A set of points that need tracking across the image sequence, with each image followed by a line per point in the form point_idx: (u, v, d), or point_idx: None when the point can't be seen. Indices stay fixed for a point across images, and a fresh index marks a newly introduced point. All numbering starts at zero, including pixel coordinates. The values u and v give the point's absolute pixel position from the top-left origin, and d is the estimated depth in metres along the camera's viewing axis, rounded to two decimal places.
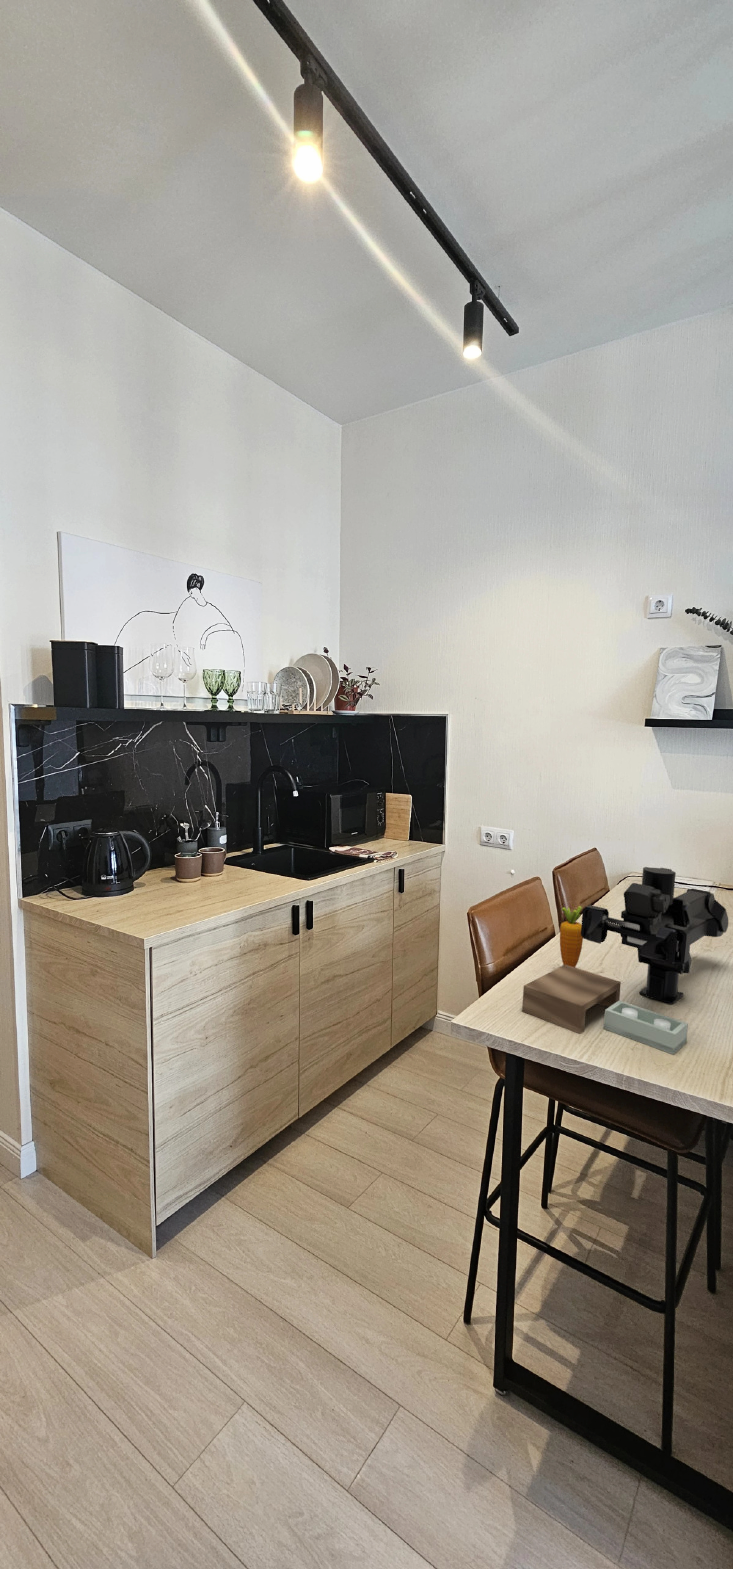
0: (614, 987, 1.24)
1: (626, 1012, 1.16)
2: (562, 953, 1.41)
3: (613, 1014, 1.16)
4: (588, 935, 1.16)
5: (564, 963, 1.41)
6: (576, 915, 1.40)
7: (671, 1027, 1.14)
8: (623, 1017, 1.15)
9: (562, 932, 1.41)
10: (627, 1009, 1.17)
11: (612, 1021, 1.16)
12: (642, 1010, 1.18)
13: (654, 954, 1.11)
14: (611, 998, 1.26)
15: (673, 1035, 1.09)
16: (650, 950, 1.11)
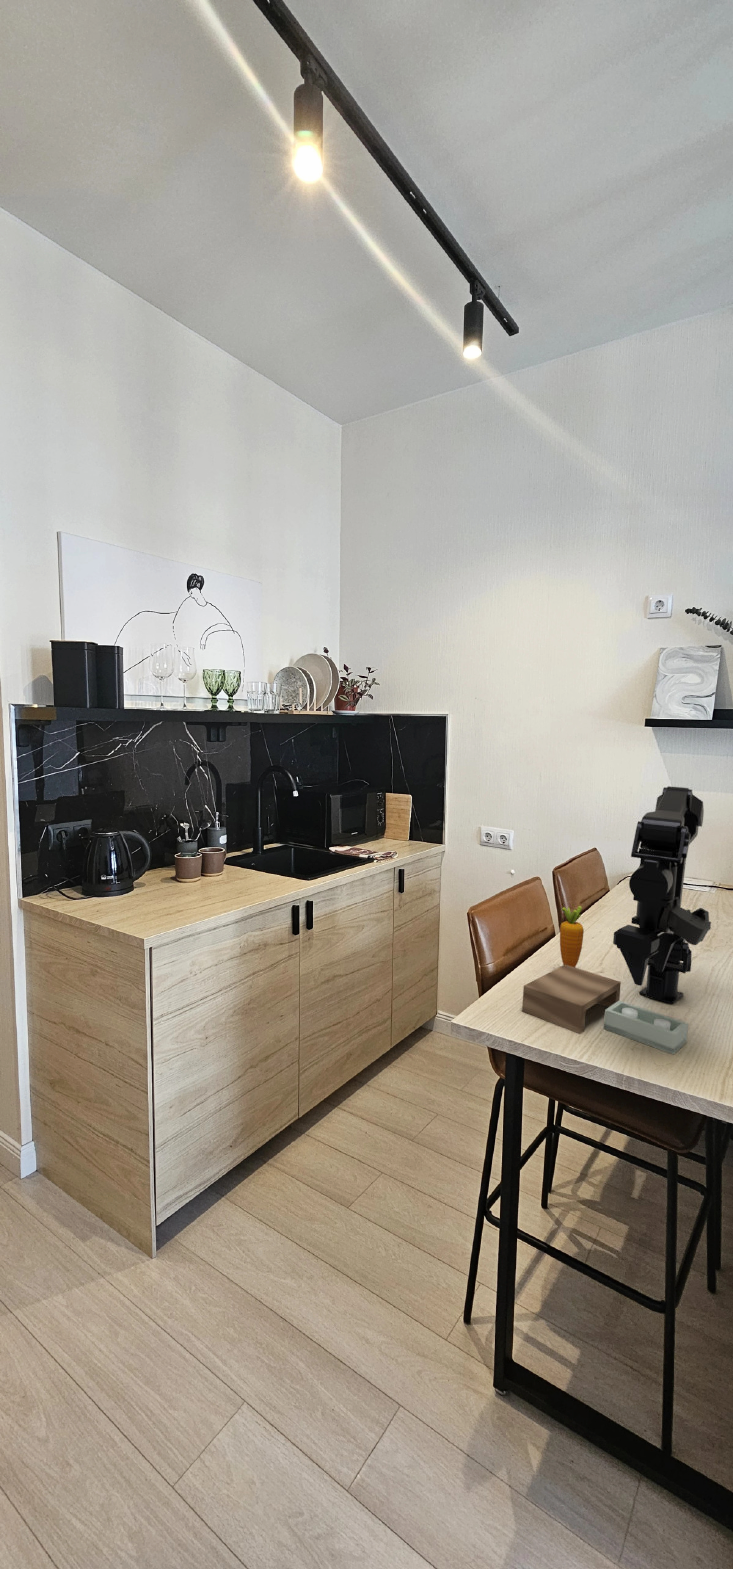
0: (614, 987, 1.24)
1: (626, 1012, 1.16)
2: (562, 953, 1.41)
3: (613, 1014, 1.16)
4: None
5: (564, 963, 1.41)
6: (576, 915, 1.40)
7: (671, 1027, 1.14)
8: (623, 1017, 1.15)
9: (562, 932, 1.41)
10: (627, 1009, 1.17)
11: (612, 1021, 1.16)
12: (642, 1010, 1.18)
13: None
14: (611, 998, 1.26)
15: (673, 1035, 1.09)
16: None
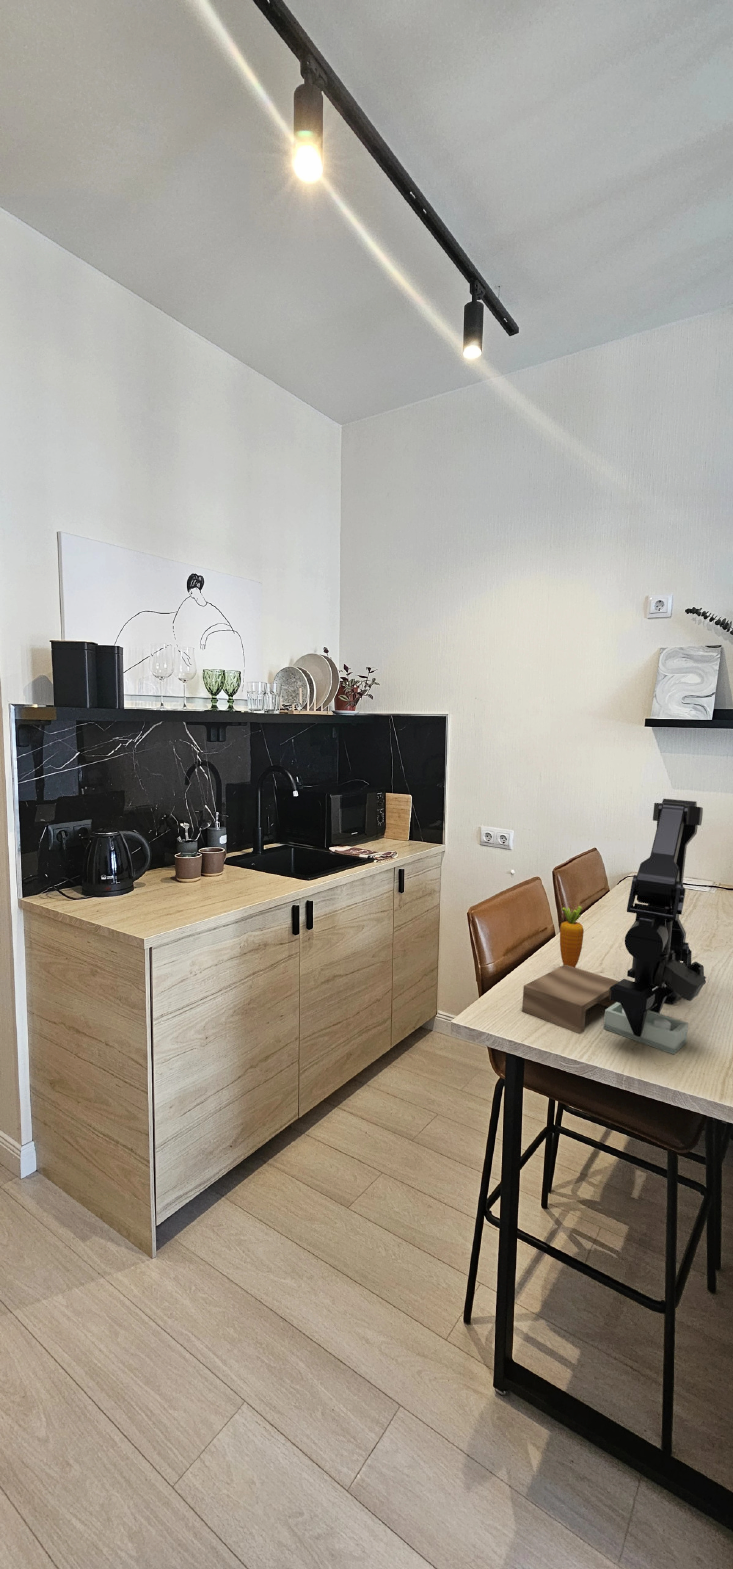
0: None
1: None
2: (562, 953, 1.41)
3: (613, 1014, 1.16)
4: None
5: (564, 963, 1.41)
6: (576, 915, 1.40)
7: (671, 1027, 1.14)
8: (623, 1017, 1.15)
9: (562, 932, 1.40)
10: None
11: (612, 1021, 1.16)
12: None
13: None
14: None
15: (673, 1035, 1.09)
16: None
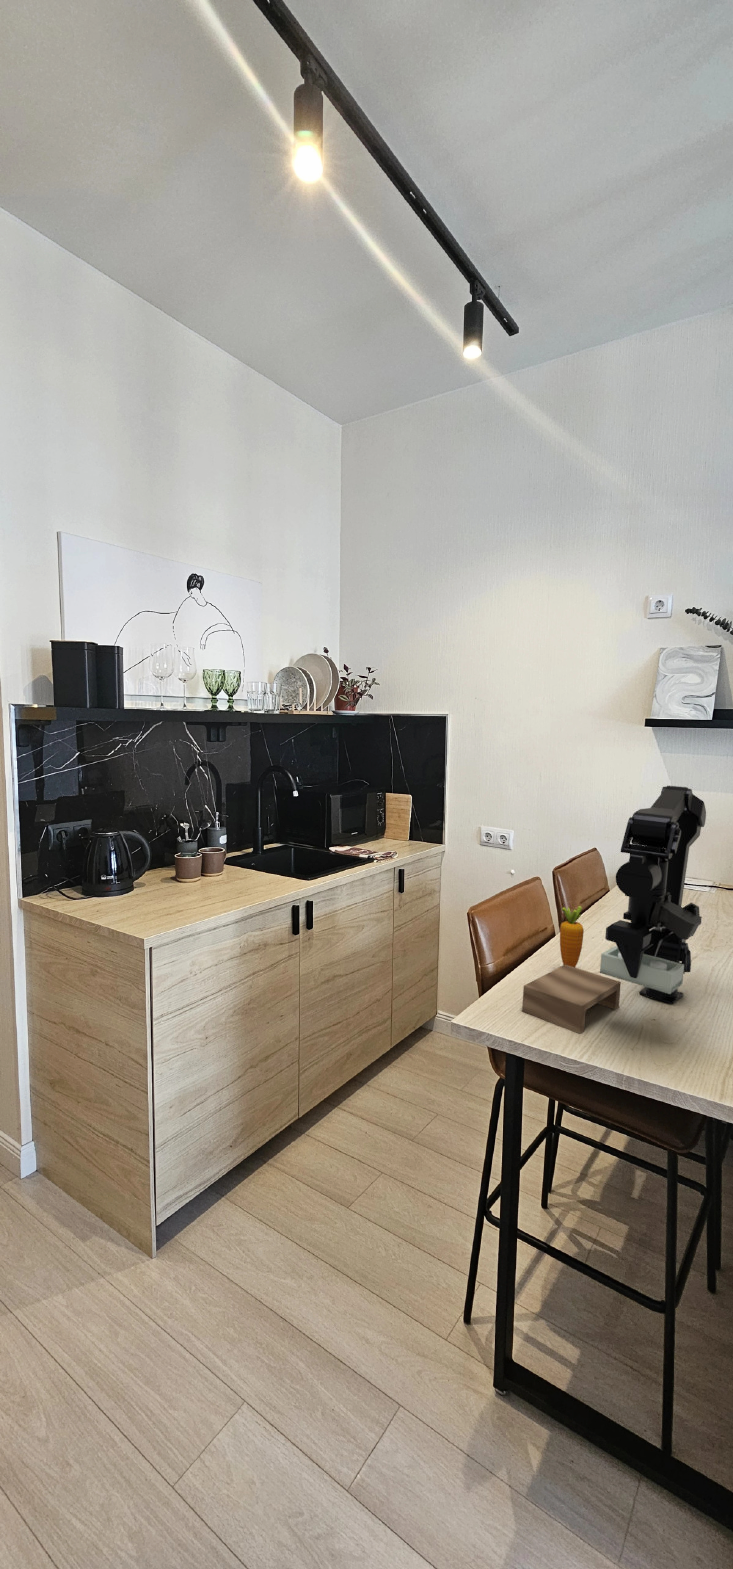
0: (614, 987, 1.24)
1: None
2: (562, 953, 1.41)
3: (609, 957, 1.16)
4: None
5: (564, 963, 1.41)
6: (576, 915, 1.40)
7: (667, 969, 1.14)
8: (619, 960, 1.15)
9: (562, 932, 1.41)
10: None
11: (608, 965, 1.16)
12: None
13: None
14: (611, 998, 1.26)
15: (669, 975, 1.09)
16: None
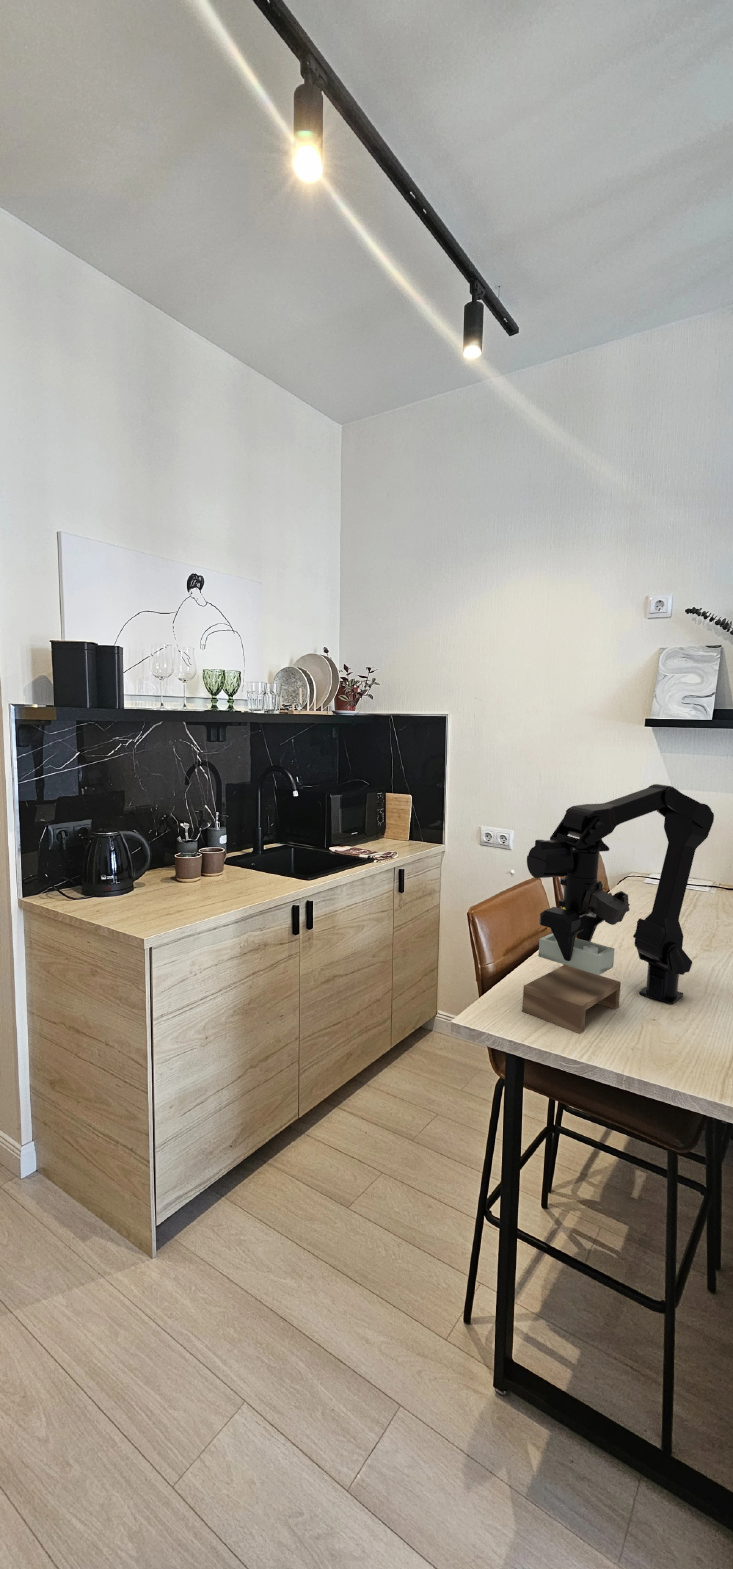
0: (614, 987, 1.24)
1: None
2: None
3: (546, 942, 1.24)
4: None
5: None
6: None
7: (599, 953, 1.23)
8: (555, 944, 1.23)
9: None
10: None
11: (546, 949, 1.25)
12: None
13: None
14: (611, 998, 1.26)
15: (598, 957, 1.17)
16: None
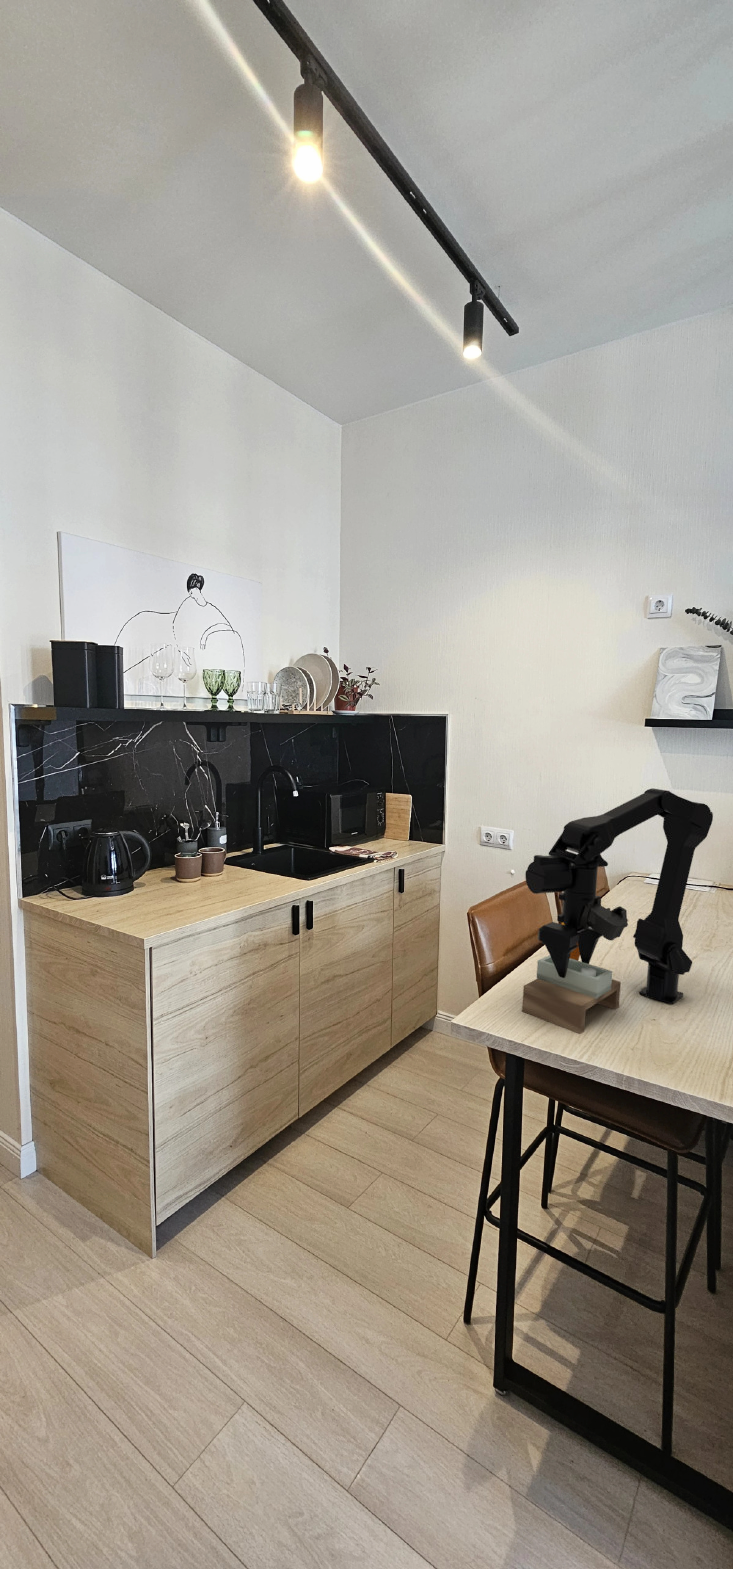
0: (614, 987, 1.24)
1: None
2: None
3: (544, 964, 1.25)
4: None
5: None
6: None
7: (597, 975, 1.23)
8: (553, 966, 1.24)
9: None
10: None
11: (544, 970, 1.25)
12: (572, 961, 1.27)
13: None
14: (611, 998, 1.26)
15: (596, 980, 1.18)
16: None
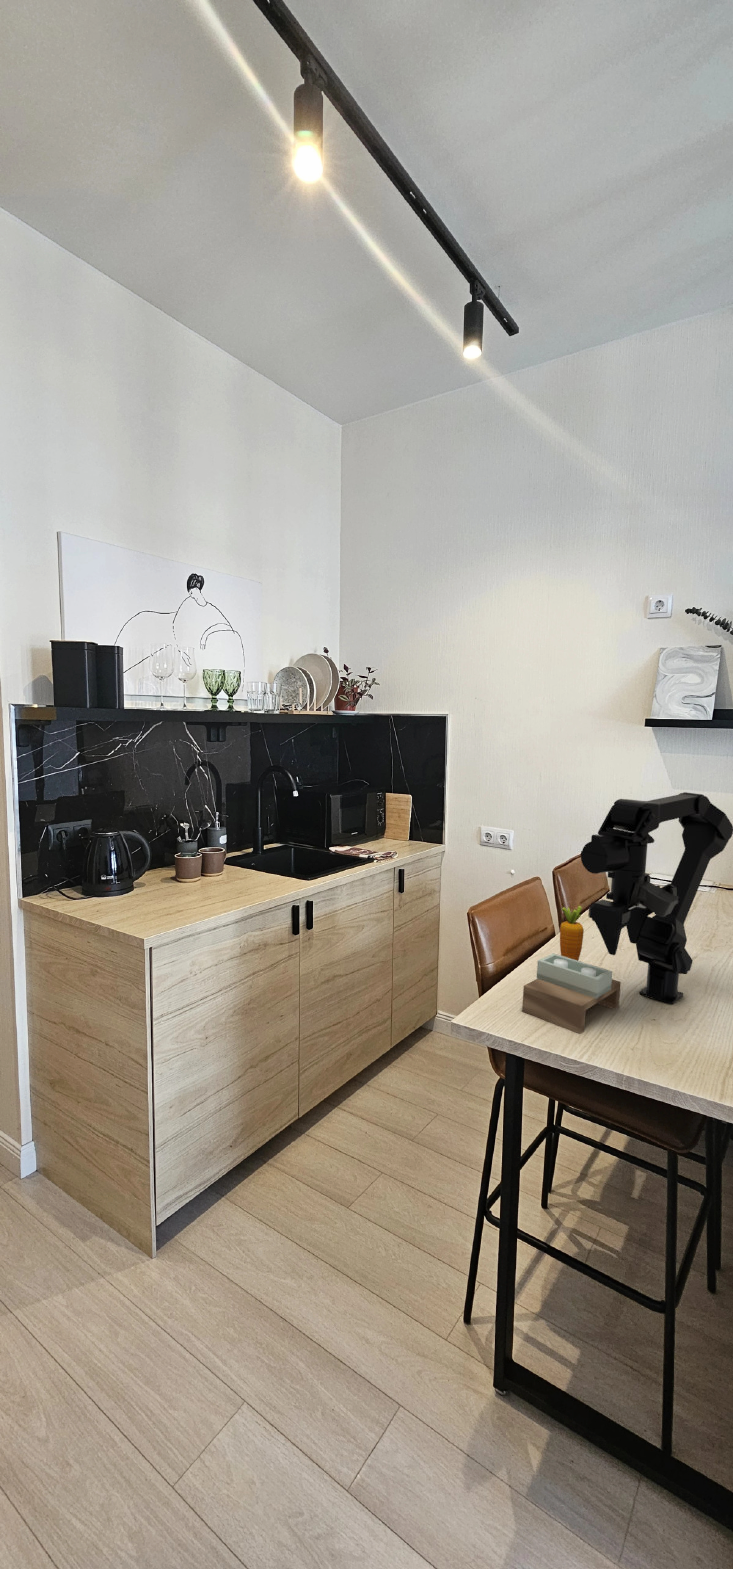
0: (614, 987, 1.24)
1: (557, 962, 1.25)
2: (562, 953, 1.41)
3: (544, 964, 1.25)
4: None
5: None
6: (576, 915, 1.40)
7: (597, 975, 1.23)
8: (553, 966, 1.24)
9: (562, 932, 1.41)
10: (558, 960, 1.26)
11: (544, 970, 1.25)
12: (572, 961, 1.27)
13: None
14: (611, 998, 1.26)
15: (596, 980, 1.18)
16: None
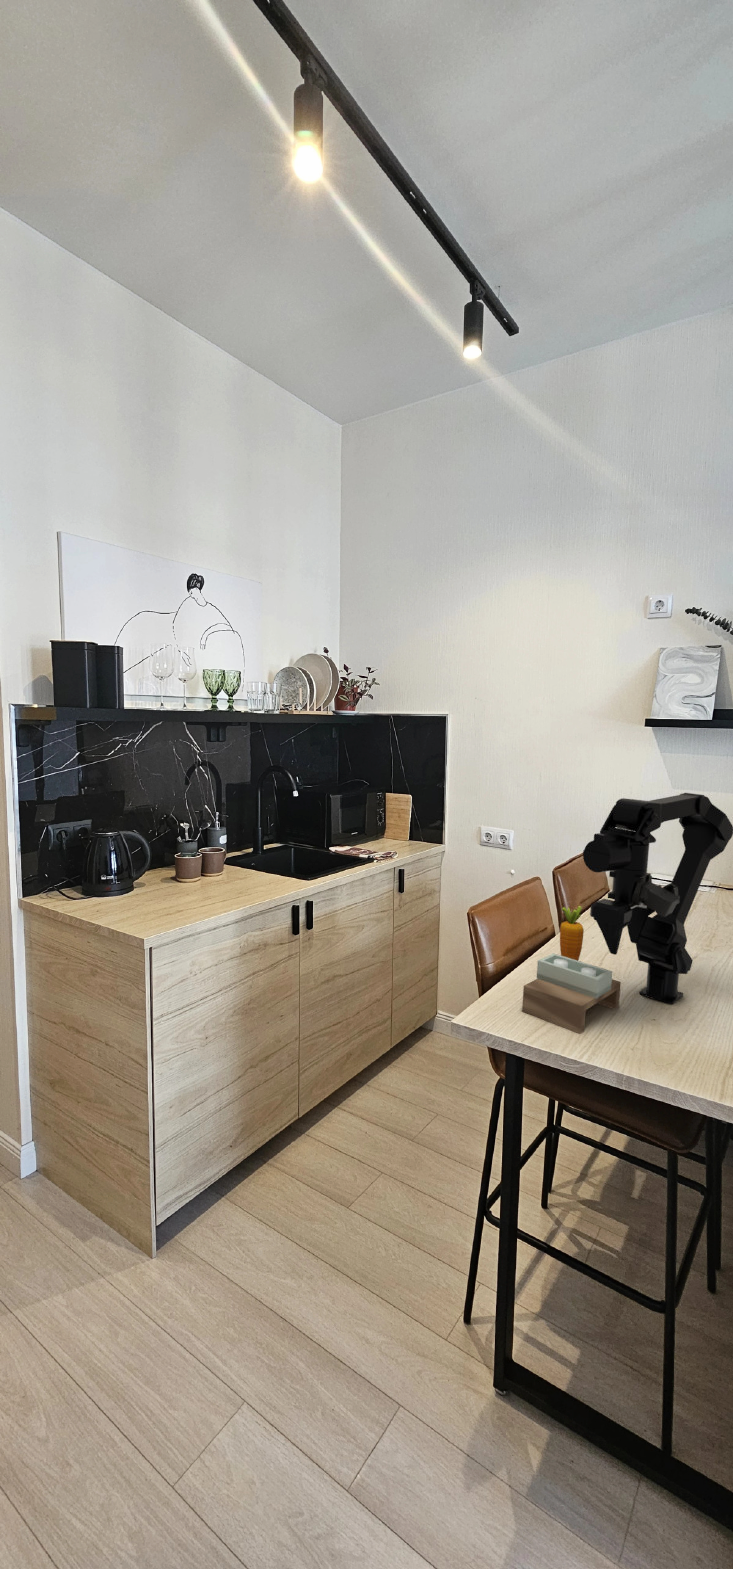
0: (614, 987, 1.24)
1: (557, 962, 1.25)
2: (562, 953, 1.41)
3: (544, 964, 1.25)
4: None
5: None
6: (576, 915, 1.40)
7: (597, 975, 1.23)
8: (553, 966, 1.24)
9: (562, 932, 1.41)
10: (558, 960, 1.26)
11: (544, 970, 1.25)
12: (572, 961, 1.27)
13: None
14: (611, 998, 1.26)
15: (596, 980, 1.18)
16: None
